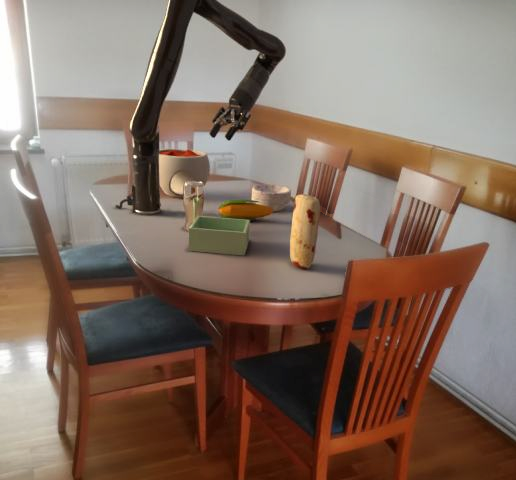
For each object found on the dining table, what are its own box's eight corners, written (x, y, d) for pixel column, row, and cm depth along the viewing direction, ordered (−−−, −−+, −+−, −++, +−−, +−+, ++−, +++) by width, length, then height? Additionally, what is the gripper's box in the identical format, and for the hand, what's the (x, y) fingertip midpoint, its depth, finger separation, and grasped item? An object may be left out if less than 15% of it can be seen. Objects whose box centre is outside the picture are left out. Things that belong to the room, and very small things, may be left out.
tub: (188, 250, 155) (188, 228, 151) (197, 236, 167) (197, 215, 164) (244, 255, 154) (245, 232, 151) (248, 241, 167) (249, 220, 164)
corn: (217, 195, 186) (271, 196, 191) (216, 216, 190) (270, 216, 195) (220, 202, 180) (276, 202, 184) (219, 223, 184) (274, 223, 189)
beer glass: (207, 228, 177) (208, 182, 170) (198, 233, 171) (199, 186, 164) (188, 225, 179) (188, 180, 171) (179, 230, 173) (179, 183, 166)
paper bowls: (262, 214, 197) (263, 193, 194) (244, 205, 209) (245, 184, 205) (296, 212, 204) (298, 191, 200) (277, 203, 216) (279, 183, 212)
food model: (282, 261, 151) (288, 191, 142) (302, 259, 154) (309, 190, 145) (299, 273, 144) (307, 199, 134) (320, 270, 147) (329, 198, 137)
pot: (220, 196, 220) (222, 151, 212) (184, 205, 202) (184, 157, 194) (176, 186, 231) (176, 144, 223) (138, 194, 213) (136, 148, 204)
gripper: (225, 86, 171) (199, 127, 171) (252, 88, 162) (225, 131, 161) (239, 102, 177) (213, 142, 176) (266, 105, 167) (239, 147, 167)
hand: (219, 137), depth 169 cm, fingers open, 8 cm apart
